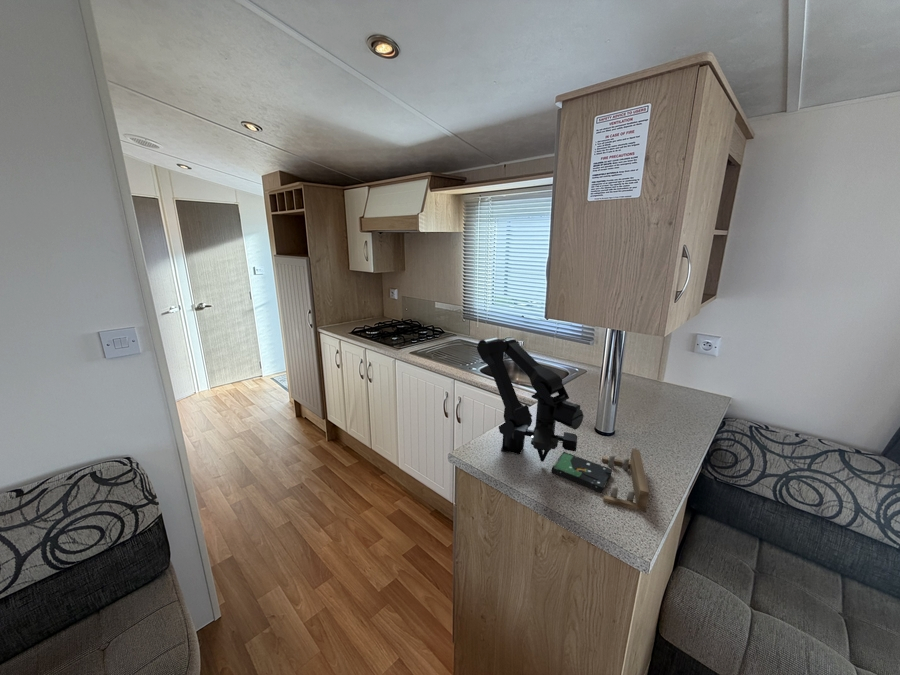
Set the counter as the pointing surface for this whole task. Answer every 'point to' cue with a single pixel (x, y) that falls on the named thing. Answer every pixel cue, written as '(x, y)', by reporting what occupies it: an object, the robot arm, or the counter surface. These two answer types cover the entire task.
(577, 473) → the disk drive
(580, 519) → the counter surface
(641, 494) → the drive tray
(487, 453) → the counter surface
